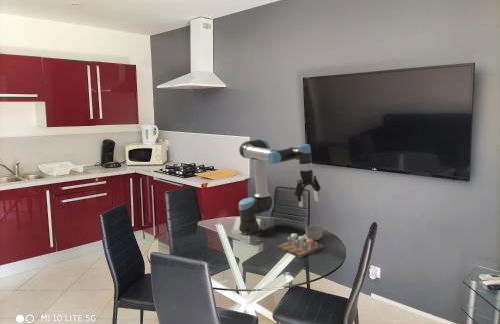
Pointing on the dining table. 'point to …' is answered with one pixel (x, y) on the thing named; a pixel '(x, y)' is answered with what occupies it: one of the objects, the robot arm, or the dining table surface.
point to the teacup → (314, 232)
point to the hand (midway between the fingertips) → (309, 203)
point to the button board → (299, 247)
